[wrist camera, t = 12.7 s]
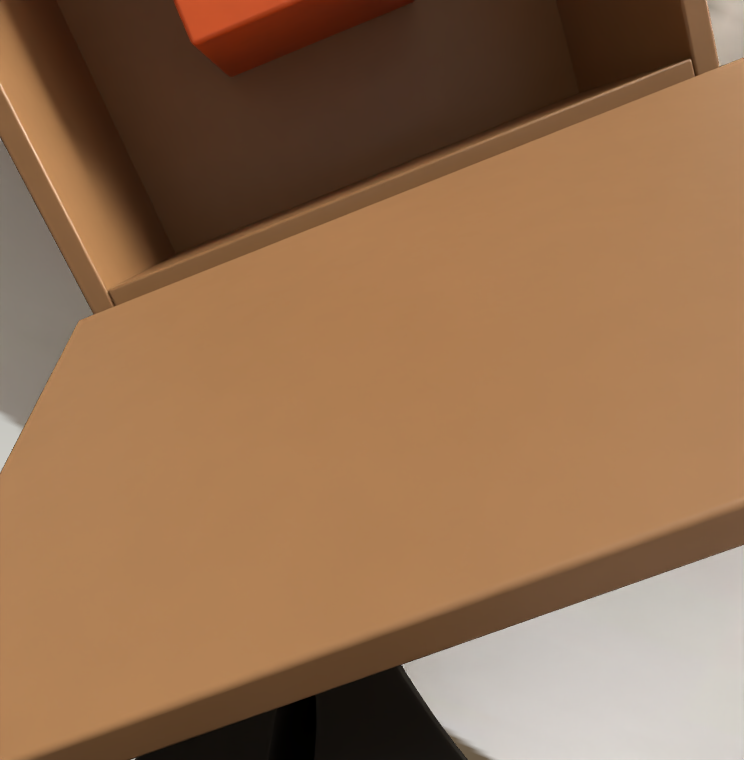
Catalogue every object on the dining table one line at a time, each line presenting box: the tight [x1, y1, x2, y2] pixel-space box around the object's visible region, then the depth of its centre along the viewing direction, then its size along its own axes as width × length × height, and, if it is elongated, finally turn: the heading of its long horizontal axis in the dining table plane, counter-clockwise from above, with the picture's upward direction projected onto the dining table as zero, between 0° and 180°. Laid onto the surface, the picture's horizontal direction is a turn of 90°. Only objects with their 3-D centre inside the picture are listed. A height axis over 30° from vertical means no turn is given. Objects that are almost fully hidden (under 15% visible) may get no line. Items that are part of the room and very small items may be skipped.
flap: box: [0, 58, 744, 760], centre depth 7 cm, size 7×11×1 cm
